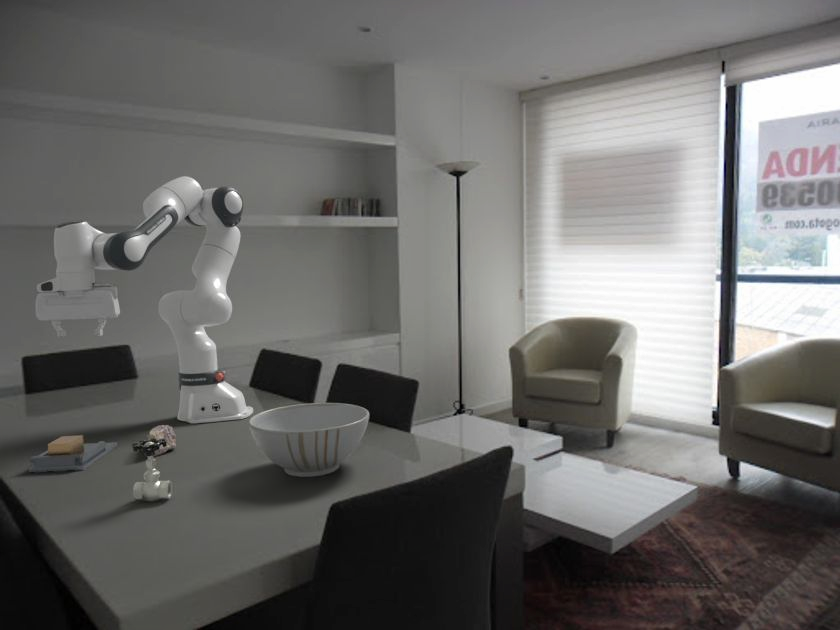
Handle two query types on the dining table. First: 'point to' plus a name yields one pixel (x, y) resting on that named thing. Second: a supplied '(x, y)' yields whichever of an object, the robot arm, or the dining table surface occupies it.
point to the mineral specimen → (161, 433)
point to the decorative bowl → (309, 436)
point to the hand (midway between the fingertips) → (80, 336)
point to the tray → (71, 458)
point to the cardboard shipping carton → (66, 445)
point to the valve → (151, 473)
